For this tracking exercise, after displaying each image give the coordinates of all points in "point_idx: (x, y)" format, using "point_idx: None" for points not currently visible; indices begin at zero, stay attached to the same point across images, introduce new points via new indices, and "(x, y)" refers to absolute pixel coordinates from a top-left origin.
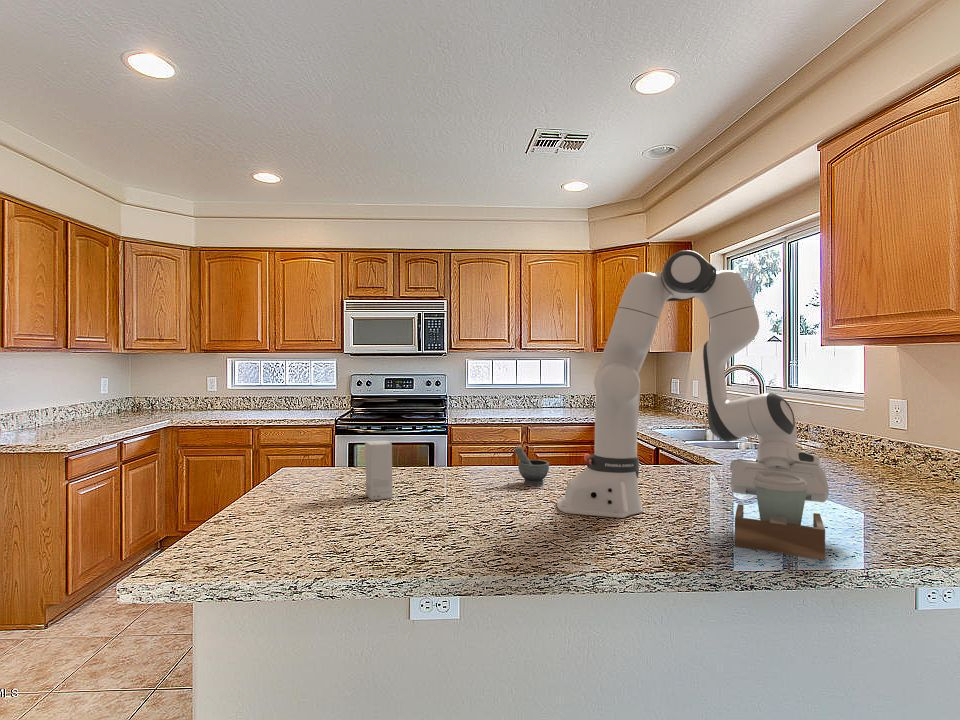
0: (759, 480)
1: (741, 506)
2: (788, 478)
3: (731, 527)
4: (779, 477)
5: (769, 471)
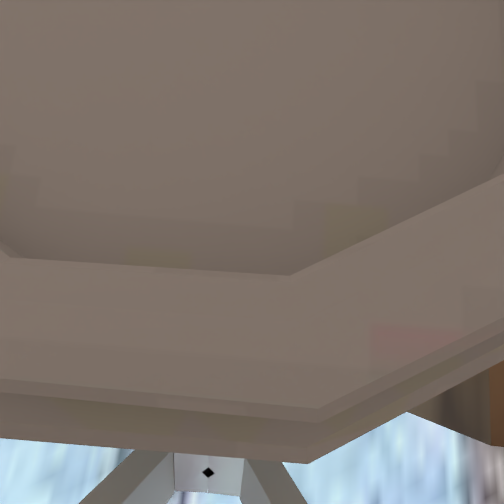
0: None
1: (501, 366)
2: (12, 53)
3: (469, 449)
4: (191, 91)
5: (443, 202)
